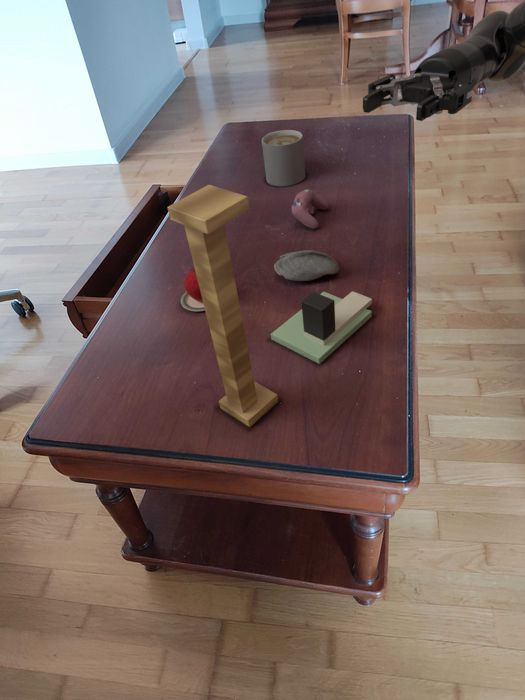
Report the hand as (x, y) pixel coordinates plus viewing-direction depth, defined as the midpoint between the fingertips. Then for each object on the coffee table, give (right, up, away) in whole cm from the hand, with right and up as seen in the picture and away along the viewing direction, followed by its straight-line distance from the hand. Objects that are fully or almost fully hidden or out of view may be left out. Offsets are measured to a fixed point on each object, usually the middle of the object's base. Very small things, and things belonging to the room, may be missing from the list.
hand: (391, 109), depth 71 cm
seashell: (-9, -19, +26) cm, 34 cm away
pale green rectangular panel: (-8, -30, +14) cm, 34 cm away
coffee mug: (-12, +11, +60) cm, 62 cm away
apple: (-29, -24, +24) cm, 45 cm away
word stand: (-20, -41, +3) cm, 46 cm away
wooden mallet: (-5, -28, +13) cm, 32 cm away
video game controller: (-7, -5, +42) cm, 43 cm away
